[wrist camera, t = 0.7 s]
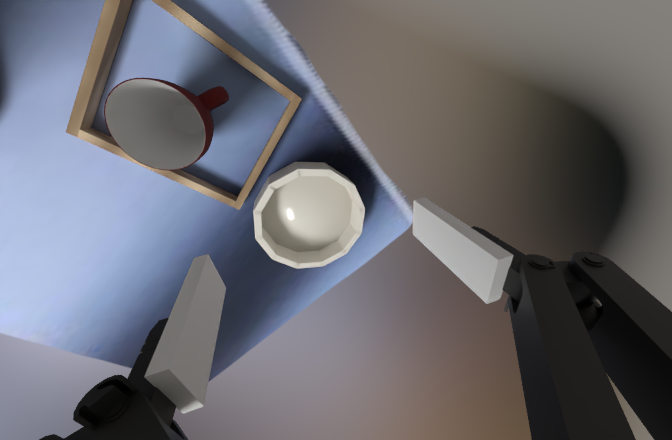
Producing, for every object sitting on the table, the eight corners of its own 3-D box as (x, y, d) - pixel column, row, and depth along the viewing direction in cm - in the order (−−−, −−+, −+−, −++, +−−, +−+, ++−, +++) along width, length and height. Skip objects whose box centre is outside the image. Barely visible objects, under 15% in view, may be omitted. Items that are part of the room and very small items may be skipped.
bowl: (237, 230, 39) (233, 244, 35) (289, 139, 34) (291, 145, 31) (322, 265, 46) (326, 279, 43) (373, 194, 42) (384, 203, 38)
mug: (199, 53, 28) (168, 33, 19) (251, 113, 32) (244, 119, 23) (137, 112, 29) (80, 118, 20) (194, 163, 33) (167, 186, 24)
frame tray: (78, 130, 28) (65, 132, 26) (128, -30, 24) (117, -40, 22) (240, 204, 37) (239, 209, 35) (300, 98, 32) (301, 98, 31)
